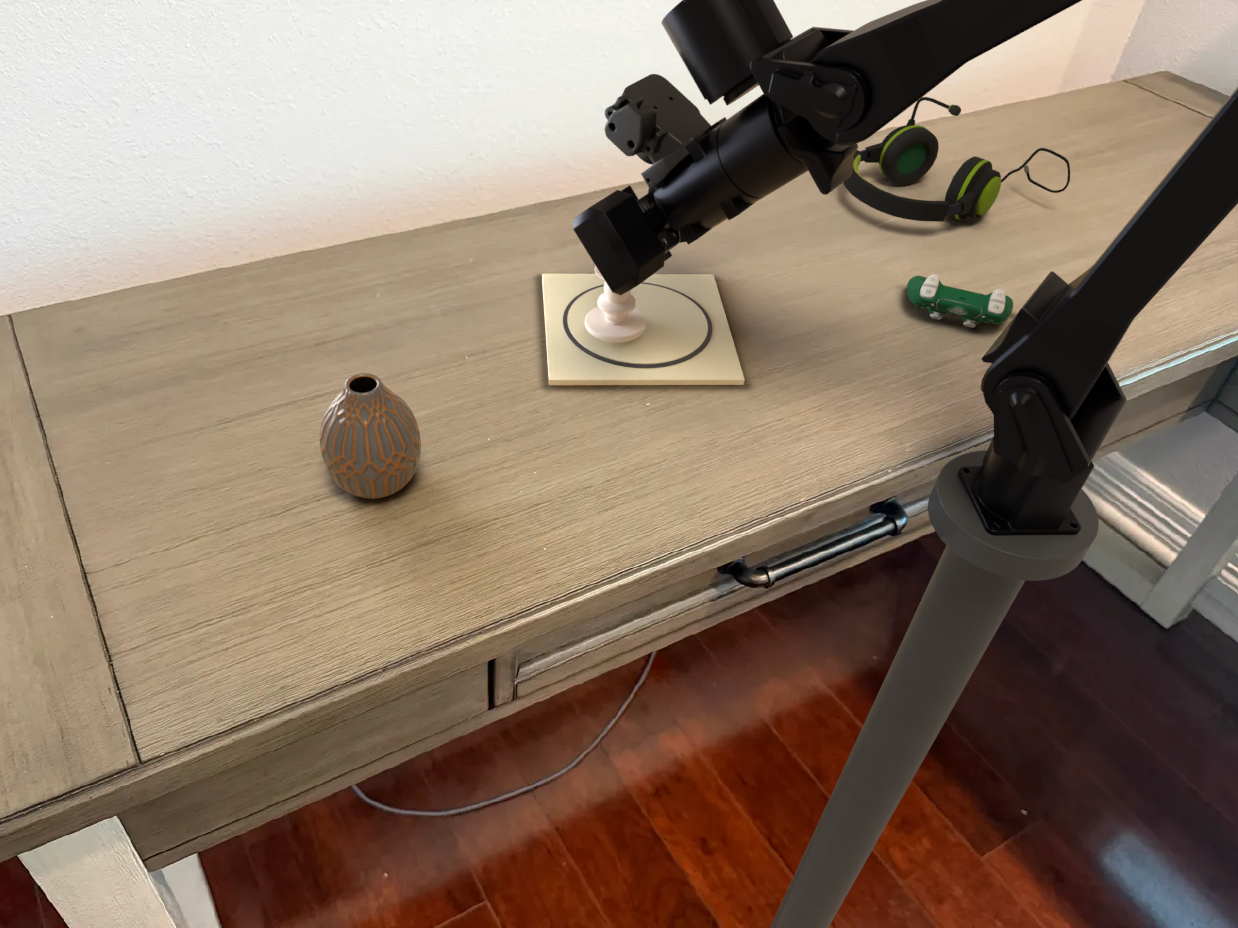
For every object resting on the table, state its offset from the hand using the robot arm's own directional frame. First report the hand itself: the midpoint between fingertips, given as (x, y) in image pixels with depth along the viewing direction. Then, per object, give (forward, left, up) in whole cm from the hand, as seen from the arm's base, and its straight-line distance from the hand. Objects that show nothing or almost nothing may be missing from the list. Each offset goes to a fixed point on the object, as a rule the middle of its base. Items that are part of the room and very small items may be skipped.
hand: (605, 250), depth 79 cm
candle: (-1, -1, -7) cm, 7 cm away
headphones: (+24, -37, -8) cm, 45 cm away
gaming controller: (+3, -32, -8) cm, 33 cm away
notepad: (+1, -3, -8) cm, 9 cm away
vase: (-18, +18, -8) cm, 27 cm away
